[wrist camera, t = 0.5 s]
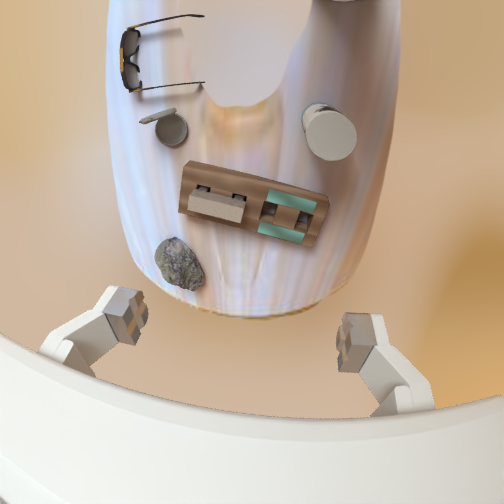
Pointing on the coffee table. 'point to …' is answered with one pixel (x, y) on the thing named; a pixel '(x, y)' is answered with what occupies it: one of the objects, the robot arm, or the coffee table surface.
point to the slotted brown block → (258, 202)
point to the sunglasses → (130, 49)
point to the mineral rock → (179, 264)
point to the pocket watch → (168, 126)
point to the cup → (328, 132)
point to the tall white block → (217, 204)
